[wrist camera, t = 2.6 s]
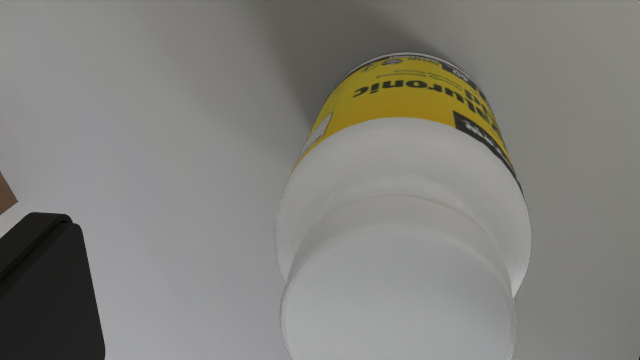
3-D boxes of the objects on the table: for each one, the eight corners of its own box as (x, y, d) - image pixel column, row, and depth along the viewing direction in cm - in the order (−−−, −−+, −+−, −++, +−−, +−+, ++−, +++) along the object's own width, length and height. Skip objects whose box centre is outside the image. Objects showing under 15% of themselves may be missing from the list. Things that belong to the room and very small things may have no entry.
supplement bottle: (528, 94, 18) (640, 284, 9) (440, 235, 20) (460, 494, 11) (363, 15, 18) (311, 131, 9) (292, 168, 20) (196, 379, 11)
